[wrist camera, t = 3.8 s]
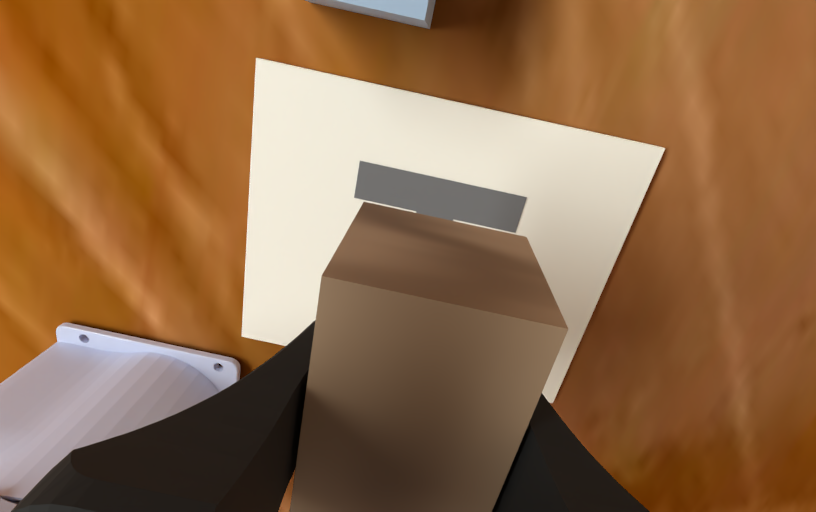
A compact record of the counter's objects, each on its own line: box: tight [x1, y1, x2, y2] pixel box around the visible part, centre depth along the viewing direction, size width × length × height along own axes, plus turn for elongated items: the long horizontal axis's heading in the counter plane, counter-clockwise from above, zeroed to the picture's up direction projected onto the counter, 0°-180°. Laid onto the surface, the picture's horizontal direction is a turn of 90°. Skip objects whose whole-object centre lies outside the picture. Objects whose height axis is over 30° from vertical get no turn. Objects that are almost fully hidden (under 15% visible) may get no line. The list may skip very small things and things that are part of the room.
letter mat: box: [242, 58, 665, 403], centre depth 20 cm, size 16×13×1 cm
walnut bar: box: [290, 202, 568, 512], centre depth 12 cm, size 4×8×4 cm, turn 169°
